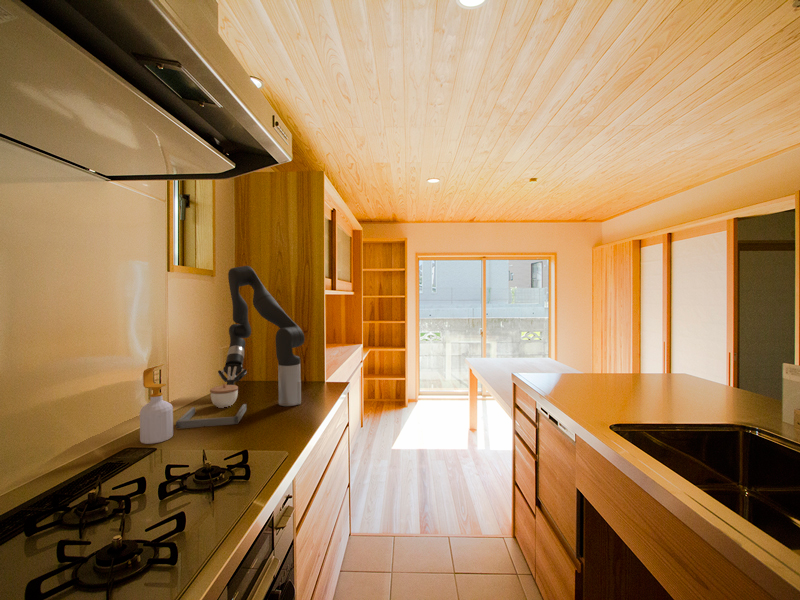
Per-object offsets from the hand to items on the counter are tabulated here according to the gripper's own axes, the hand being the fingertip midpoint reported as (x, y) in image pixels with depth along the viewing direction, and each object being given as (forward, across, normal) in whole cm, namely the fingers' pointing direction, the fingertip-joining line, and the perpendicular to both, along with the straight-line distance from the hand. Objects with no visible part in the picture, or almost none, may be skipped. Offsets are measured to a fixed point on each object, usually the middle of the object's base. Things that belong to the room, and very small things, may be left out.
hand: (229, 388), depth 164 cm
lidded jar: (+10, 0, -3) cm, 11 cm away
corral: (+22, 0, -15) cm, 26 cm away
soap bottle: (+34, -13, -26) cm, 45 cm away
